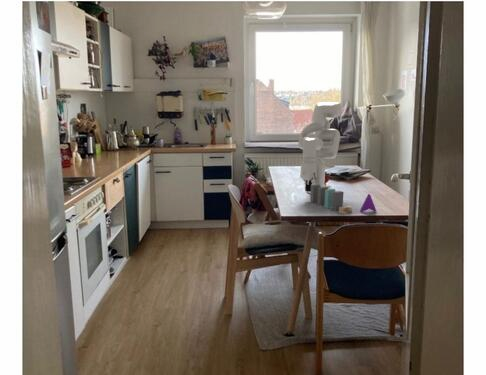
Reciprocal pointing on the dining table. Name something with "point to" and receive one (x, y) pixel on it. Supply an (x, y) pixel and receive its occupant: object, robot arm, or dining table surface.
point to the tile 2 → (321, 195)
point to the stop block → (345, 209)
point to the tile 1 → (314, 193)
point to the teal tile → (329, 197)
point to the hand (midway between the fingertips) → (308, 191)
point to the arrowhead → (368, 204)
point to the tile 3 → (337, 200)
